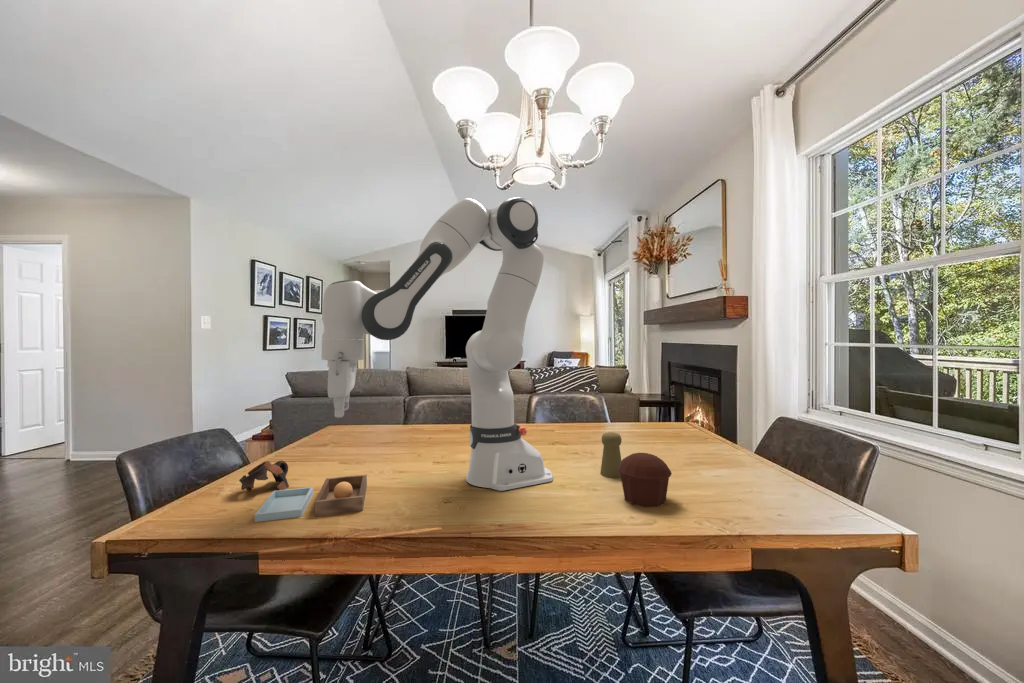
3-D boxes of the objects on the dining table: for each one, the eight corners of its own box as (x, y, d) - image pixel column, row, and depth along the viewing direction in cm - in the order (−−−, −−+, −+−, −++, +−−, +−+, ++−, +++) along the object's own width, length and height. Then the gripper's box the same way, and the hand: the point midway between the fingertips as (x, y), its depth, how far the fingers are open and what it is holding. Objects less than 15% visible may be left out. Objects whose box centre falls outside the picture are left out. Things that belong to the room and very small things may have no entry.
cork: (626, 477, 109) (625, 435, 109) (602, 477, 109) (602, 435, 109) (620, 470, 115) (619, 430, 115) (598, 470, 115) (597, 430, 115)
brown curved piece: (278, 500, 98) (257, 472, 96) (247, 515, 100) (225, 488, 98) (305, 471, 110) (287, 446, 108) (277, 485, 111) (258, 461, 110)
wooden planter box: (366, 488, 103) (366, 474, 103) (362, 513, 88) (362, 496, 88) (326, 492, 101) (326, 478, 101) (315, 519, 86) (314, 502, 86)
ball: (353, 495, 97) (353, 478, 97) (351, 502, 93) (351, 484, 93) (334, 497, 96) (334, 480, 96) (332, 504, 92) (332, 485, 92)
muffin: (682, 501, 93) (681, 456, 93) (652, 514, 86) (652, 465, 86) (637, 486, 102) (636, 445, 102) (607, 497, 96) (606, 453, 96)
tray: (313, 495, 99) (313, 486, 99) (301, 519, 86) (301, 509, 86) (273, 499, 97) (273, 490, 97) (254, 524, 84) (254, 514, 84)
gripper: (353, 353, 86) (352, 421, 86) (360, 351, 106) (359, 406, 105) (320, 353, 84) (319, 422, 84) (333, 351, 104) (332, 407, 104)
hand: (341, 413), depth 95 cm, fingers open, 8 cm apart
